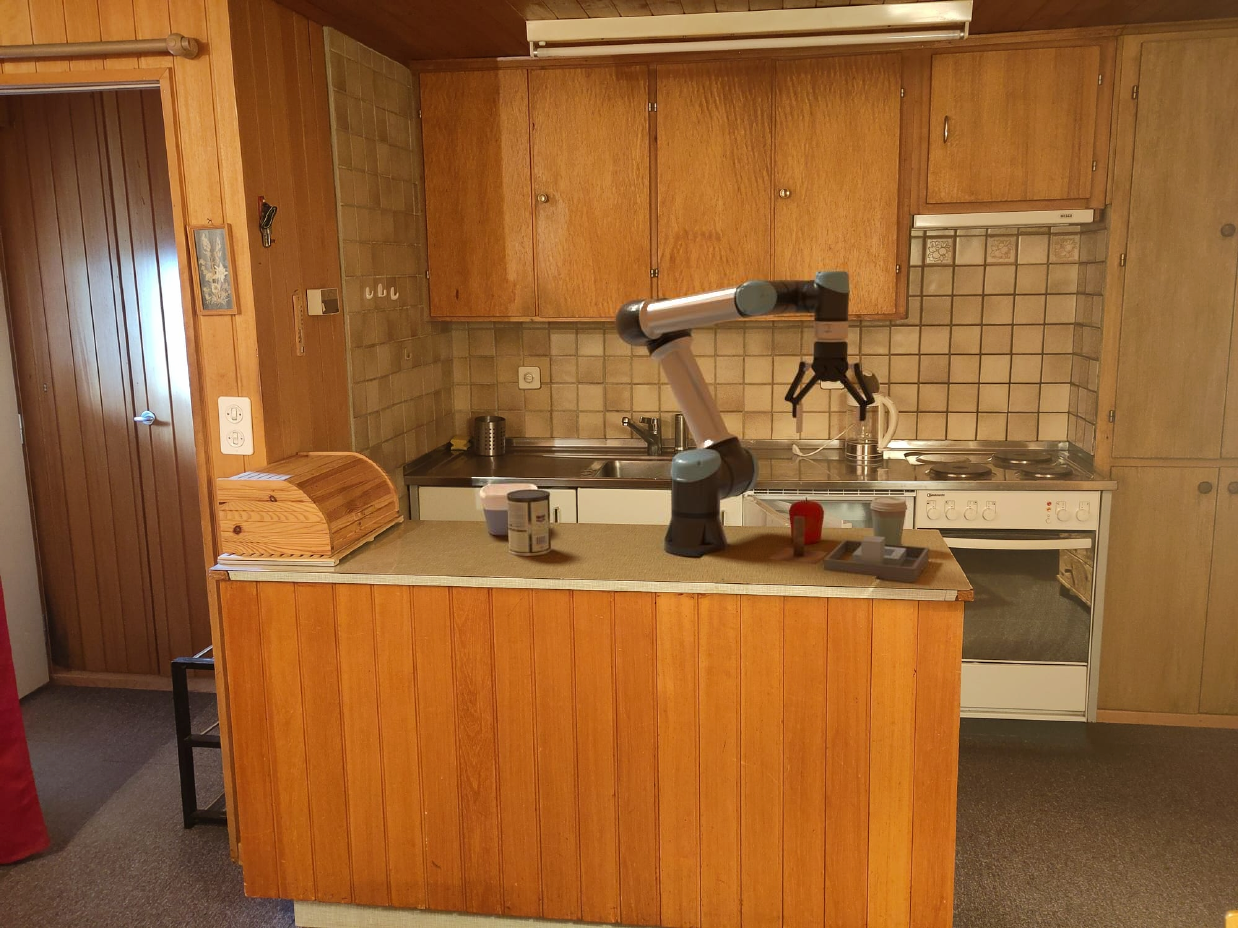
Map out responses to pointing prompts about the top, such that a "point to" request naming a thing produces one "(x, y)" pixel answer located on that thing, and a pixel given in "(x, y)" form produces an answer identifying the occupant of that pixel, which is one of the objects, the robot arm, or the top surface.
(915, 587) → the top surface
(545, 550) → the coffee can
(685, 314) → the robot arm
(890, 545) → the tray
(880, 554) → the ring
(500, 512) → the plastic food container
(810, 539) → the apple
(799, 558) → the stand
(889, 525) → the coffee cup
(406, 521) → the top surface
